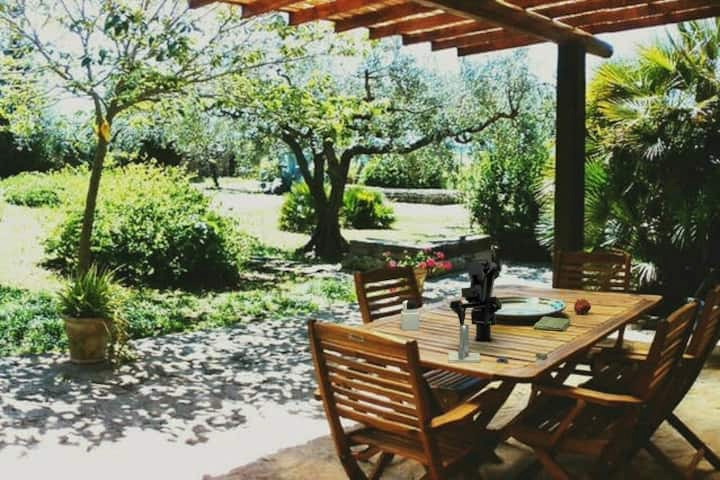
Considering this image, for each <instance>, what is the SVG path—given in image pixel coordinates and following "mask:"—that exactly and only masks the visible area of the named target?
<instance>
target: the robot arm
mask: <svg viewBox="0 0 720 480" xmlns="http://www.w3.org/2000/svg"><path fill="white" fill-rule="evenodd" d="M502 270H503V265H502V260H501V257H499V256H497V254H496V252H495V251H493V250H484V251H482V252H481V255H479V257H475V258H472V259H471V261H470V262H469V263H468V264H467V266H466V272H467V275H468V278H469V280H470V285H469V287H463V288H461V289H460V290H461V298H464V300H465V301H466V302H463V301H462V300H461V299H459V300H458V299H457V300H451V301H450V303H449V308H450V309H451V310H452V311H453V312H454V313H455V314H456V315H457V317H458V321H459V326H460V325H465V319H466V315H467V314H466V311H467V309H471V308H472V309H471V311H470V317H471V318H470V321H471V325H473V326H474V325H475V336H474V340H475V342H492V341H493V337H492V335H491V334H492V329H491V328H492V326H496V325H497V318H496V313H498V311H499V310H502V306H503V305H502V302H501V301H500V299H499V298H498V297H497V296H495V295H494V296H492V295H493V291H494V290H493V289H494V283H495V280H497V279H498V278H499V277H500V275H501V272H502Z"/></svg>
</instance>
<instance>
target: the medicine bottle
mask: <svg viewBox="0 0 720 480" xmlns="http://www.w3.org/2000/svg"><path fill="white" fill-rule="evenodd" d="M400 327H401V329H402V331H419V330H420V313H419V311H418V302H417V301H416V300H411V299H406V300H403V301H402V310H401V311H400Z"/></svg>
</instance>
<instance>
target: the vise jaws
mask: <svg viewBox="0 0 720 480" xmlns="http://www.w3.org/2000/svg"><path fill="white" fill-rule="evenodd" d="M535 357H536V358H537V359H540V360H541V361H546V359H548V356H547V355H543V354H542V353H539V352H537V353H535ZM496 362H497V363H498V362H499V363H503V362H504V364H509V359H508V358H506V357H504V356H498V359H496Z"/></svg>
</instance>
